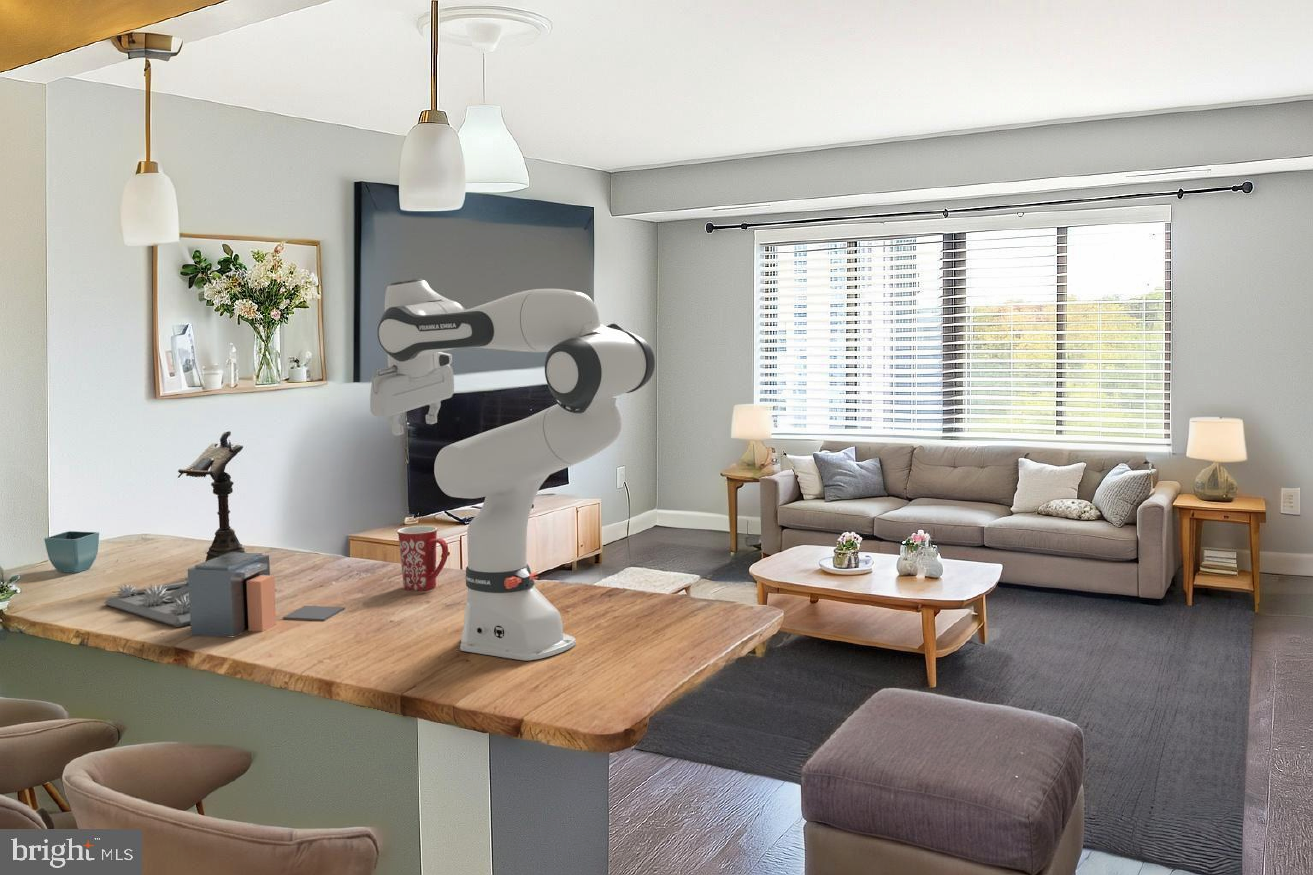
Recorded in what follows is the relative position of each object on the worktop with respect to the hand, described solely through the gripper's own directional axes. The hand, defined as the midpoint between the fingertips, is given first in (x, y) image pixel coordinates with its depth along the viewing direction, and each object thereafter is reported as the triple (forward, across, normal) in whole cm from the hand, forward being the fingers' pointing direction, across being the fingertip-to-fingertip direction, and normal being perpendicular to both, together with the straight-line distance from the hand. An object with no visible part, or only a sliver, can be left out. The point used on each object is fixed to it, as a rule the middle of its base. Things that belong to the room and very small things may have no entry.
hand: (415, 428), depth 212 cm
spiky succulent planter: (+42, -25, +46) cm, 67 cm away
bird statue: (+46, -4, +63) cm, 78 cm away
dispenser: (+38, -29, +24) cm, 54 cm away
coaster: (+39, -15, +17) cm, 45 cm away
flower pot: (+48, -19, +99) cm, 112 cm away
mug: (+43, +12, +12) cm, 47 cm away
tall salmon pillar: (+38, -27, +18) cm, 50 cm away
